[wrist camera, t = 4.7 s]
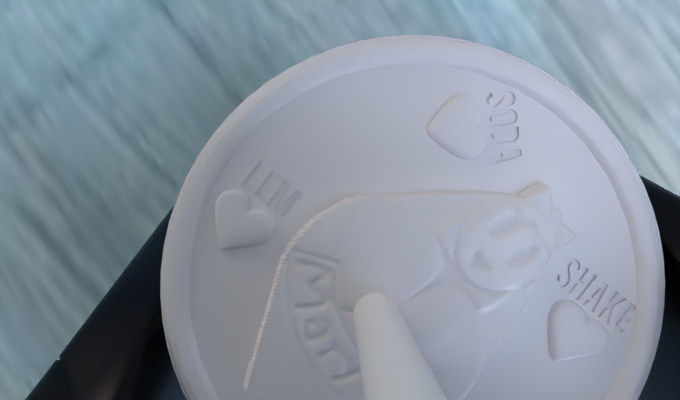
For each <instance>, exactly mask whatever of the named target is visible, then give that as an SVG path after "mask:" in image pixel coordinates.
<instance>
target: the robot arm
mask: <svg viewBox="0 0 680 400" xmlns="http://www.w3.org/2000/svg"><path fill="white" fill-rule="evenodd" d="M639 176H640V178H641V180H642V182H643V184H644V186H645V189H646V191H647V194H648V197H649V199H650V202H651V205H652V207H653V210H654V214H655V218H656V222H657V225H658V229H659V233H660V239H661V245H662V251H663V257H664V273H665V299H664V312H663V320H662V327H661V333H660V337H659V342H658V346H657V350H656V354H655V358H654V360H653V363H652V366H651V369H650V372H649V375H648V378H647V380H646V383H645V385H644V387H643V389H642V391H641V394H640V396H639V398H638V400H680V197H679V196H677V195H675V194H673V193H672V192H670V191H668V190H666V189H664V188H662V187H661V186H659V185H657V184H655V183H653V182H652V181H650V180H648V179H646V178H644V177H642V176H641V175H639ZM173 208H174V206H173V207H172V209H171V210H170V211H169V213H168V214H167V215H166V217H165V218H164V219H163V221H162V222H161V223H160V224H159V226H158V227H157V228H156V230H155V231H154V232H153V234H152V235H151V236H150V238H149V239H148V240H147V242H146V243H145V244H144V245H143V247H142V248H141V249H140V251H139V252H138V253H137V255H136V256H135V257H134V259H133V260H132V261H131V263H130V264H129V265H128V266H127V268H126V269H125V270H124V272H123V273H122V274H121V276H120V277H119V278H118V280H117V281H116V282H115V284H114V285H113V286H112V287H111V289H110V290H109V291H108V293H107V294H106V295H105V297H104V298H103V299H102V301H101V302H100V303H99V304H98V306H97V307H96V308H95V310H94V311H93V312H92V314H91V315H90V316H89V318H88V319H87V320H86V322H85V323H84V324H83V325H82V327H81V328H80V329H79V331H78V332H77V333H76V335H75V336H74V337H73V339H72V340H71V341H70V343H69V344H68V345H67V346H66V348H65V349H64V350H63V352H62V353H61V354H60V356H59V358H60V360H56V361H55V362H54V363H53V365H52V366H51V367H50V368H49V370H48V371H47V372H46V374H45V375H44V376H43V378H42V379H41V380H40V382H39V383H38V384H37V385H36V387H35V388H34V389H33V390H32V392H31V393H30V394H29V395H28V397H27V398H26V399H25V400H187V399H186V397H185V395H184V393H183V391H182V389H181V386H180V384H179V381H178V378H177V376H176V373H175V371H174V368H173V365H172V361H171V358H170V354H169V351H168V347H167V343H166V338H165V332H164V327H163V321H162V310H161V298H160V286H161V264H162V256H163V247H164V242H165V238H166V233H167V228H168V224H169V220H170V217H171V214H172V211H173Z"/></svg>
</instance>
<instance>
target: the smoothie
mask: <svg viewBox="0 0 680 400" xmlns="http://www.w3.org/2000/svg"><path fill="white" fill-rule="evenodd" d="M160 298H161V310H162V321H163V327H164V332H165V338H166V343H167V347H168V351H169V354H170V358H171V361H172V365H173V368H174V371H175V373H176V376H177V378H178V381H179V384H180V386H181V389H182V391H183V393H184V395H185V397H186V399H187V400H638V398H639V396H640V394H641V391H642V389H643V387H644V385H645V383H646V380H647V378H648V375H649V372H650V369H651V366H652V363H653V360H654V358H655V354H656V350H657V346H658V342H659V337H660V333H661V327H662V320H663V312H664V299H665V273H664V257H663V251H662V245H661V239H660V233H659V229H658V225H657V222H656V218H655V214H654V210H653V207H652V205H651V202H650V199H649V197H648V194H647V191H646V189H645V186H644V184H643V182H642V180H641V178H640V176H639V174H638V172H637V170H636V168H635V166H634V164H633V162H632V161H631V159H630V157H629V156H628V154H627V152H626V151H625V149H624V148H623V146H622V144H621V143H620V142H619V140H618V139H617V138H616V136H615V135H614V134H613V132H612V131H611V130H610V128H609V127H608V126H607V125H606V123H605V122H604V121H603V120H602V119H601V118H600V117H599V116H598V115H597V114H596V113H595V112H594V110H593V109H592V108H591V107H590V106H589V105H588V104H587V103H585V102H584V101H583V100H582V99H581V98H580V97H579V96H577V95H576V94H575V93H574V92H573V91H572V90H571V89H569V88H568V87H567V86H565V85H564V84H562V83H561V82H560V81H558V80H557V79H555V78H554V77H553V76H551V75H550V74H548V73H546V72H544V71H543V70H541V69H539V68H537V67H536V66H534V65H532V64H531V63H529V62H527V61H525V60H522V59H520V58H518V57H516V56H513V55H511V54H509V53H507V52H504V51H501V50H498V49H495V48H492V47H489V46H486V45H483V44H479V43H475V42H471V41H466V40H462V39H458V38H450V37H442V36H434V35H397V36H383V37H377V38H371V39H366V40H360V41H356V42H352V43H348V44H345V45H341V46H338V47H334V48H331V49H329V50H326V51H324V52H321V53H318V54H316V55H313V56H311V57H309V58H307V59H305V60H303V61H301V62H299V63H297V64H295V65H293V66H291V67H289V68H287V69H286V70H284V71H283V72H281V73H279V74H278V75H276V76H275V77H273V78H272V79H270V80H268V81H267V82H266V83H264V84H263V85H262V86H260V87H259V88H258V89H257V90H255V91H254V92H253V93H252V94H250V95H249V96H248V97H247V98H246V99H245V100H244V101H242V102H241V103H240V104H239V105H238V106H237V107H236V108H235V109H234V110H233V111H232V112H231V113H230V114H229V115H228V116H227V117H226V119H225V120H224V121H223V122H222V123H221V124H220V126H219V127H218V128H217V129H216V130H215V131H214V133H213V134H212V135H211V137H210V138H209V140H208V141H207V143H206V144H205V145H204V147H203V148H202V150H201V151H200V153H199V154H198V156H197V158H196V159H195V161H194V163H193V165H192V167H191V168H190V170H189V172H188V174H187V176H186V178H185V180H184V182H183V185H182V187H181V189H180V192H179V194H178V196H177V199H176V202H175V205H174V208H173V211H172V214H171V217H170V220H169V224H168V228H167V233H166V238H165V242H164V247H163V256H162V264H161V286H160Z"/></svg>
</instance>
